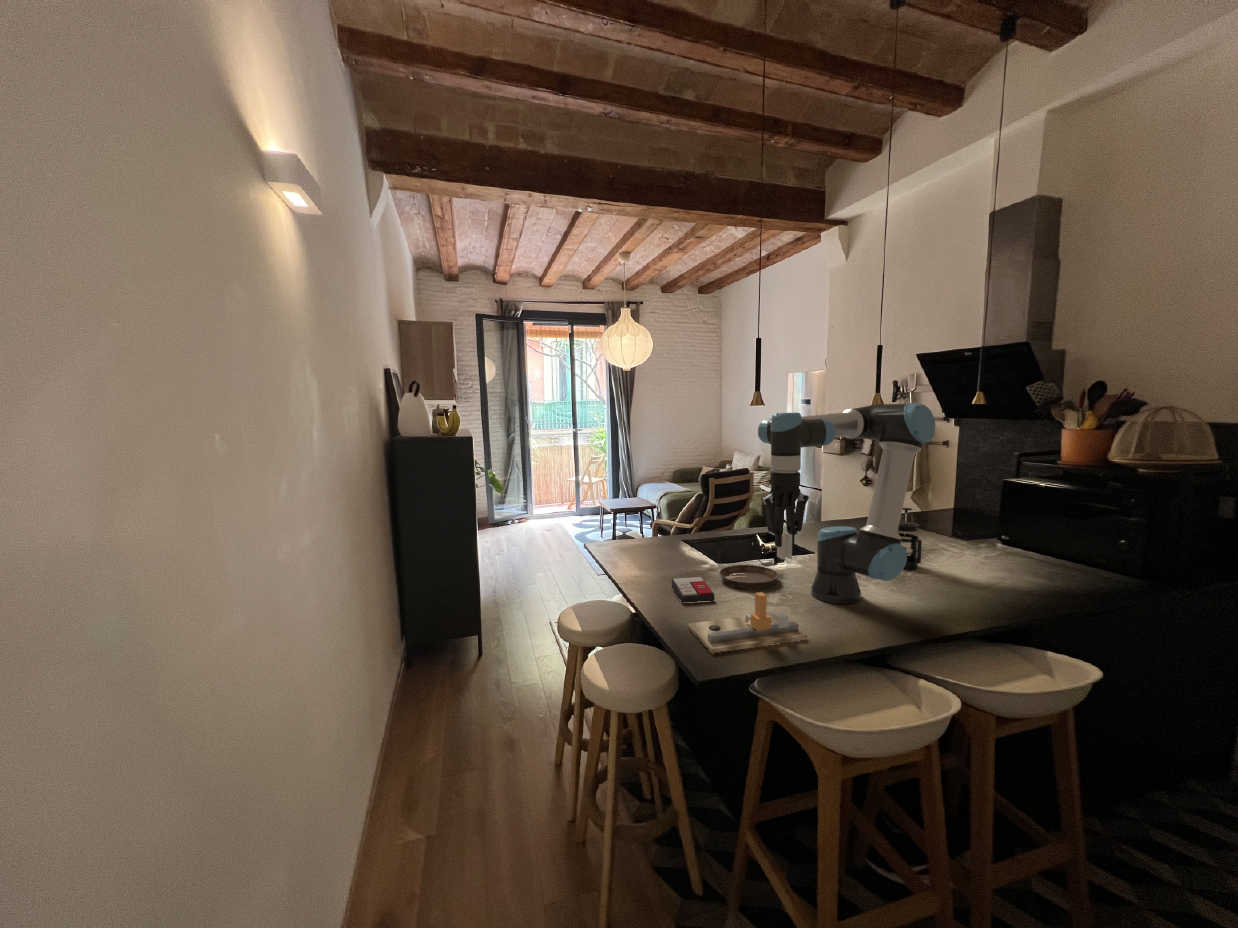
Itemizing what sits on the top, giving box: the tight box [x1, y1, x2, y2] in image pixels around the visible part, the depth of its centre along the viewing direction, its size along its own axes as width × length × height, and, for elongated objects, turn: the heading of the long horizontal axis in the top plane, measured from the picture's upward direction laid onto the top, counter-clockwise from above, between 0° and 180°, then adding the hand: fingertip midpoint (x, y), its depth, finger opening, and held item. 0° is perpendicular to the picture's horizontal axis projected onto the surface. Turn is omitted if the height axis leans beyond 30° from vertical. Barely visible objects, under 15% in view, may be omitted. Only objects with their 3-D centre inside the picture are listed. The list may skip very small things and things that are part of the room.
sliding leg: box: [744, 591, 771, 631], centre depth 138 cm, size 4×10×11 cm, turn 14°
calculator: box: [671, 576, 715, 603], centre depth 170 cm, size 11×4×15 cm
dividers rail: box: [708, 611, 800, 644], centre depth 138 cm, size 26×10×5 cm, turn 104°
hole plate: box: [687, 611, 808, 653], centre depth 140 cm, size 28×16×2 cm, turn 104°
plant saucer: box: [719, 564, 779, 589], centre depth 183 cm, size 21×21×3 cm
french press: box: [898, 507, 923, 571], centre depth 193 cm, size 12×9×23 cm
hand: (784, 557), depth 135 cm, fingers closed
